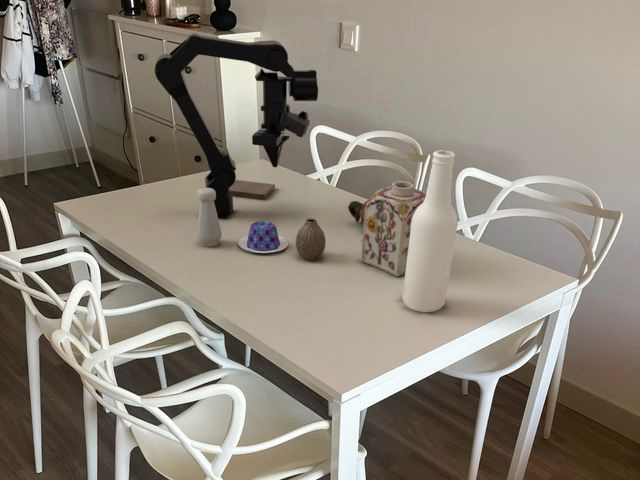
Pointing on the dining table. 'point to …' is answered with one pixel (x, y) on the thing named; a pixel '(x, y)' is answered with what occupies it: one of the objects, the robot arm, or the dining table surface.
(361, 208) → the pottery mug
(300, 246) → the vase
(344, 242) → the dining table surface
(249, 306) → the dining table surface
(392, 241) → the decorative jar
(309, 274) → the dining table surface
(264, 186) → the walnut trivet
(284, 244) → the pudding
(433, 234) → the alcohol
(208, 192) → the salt shaker
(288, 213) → the dining table surface
